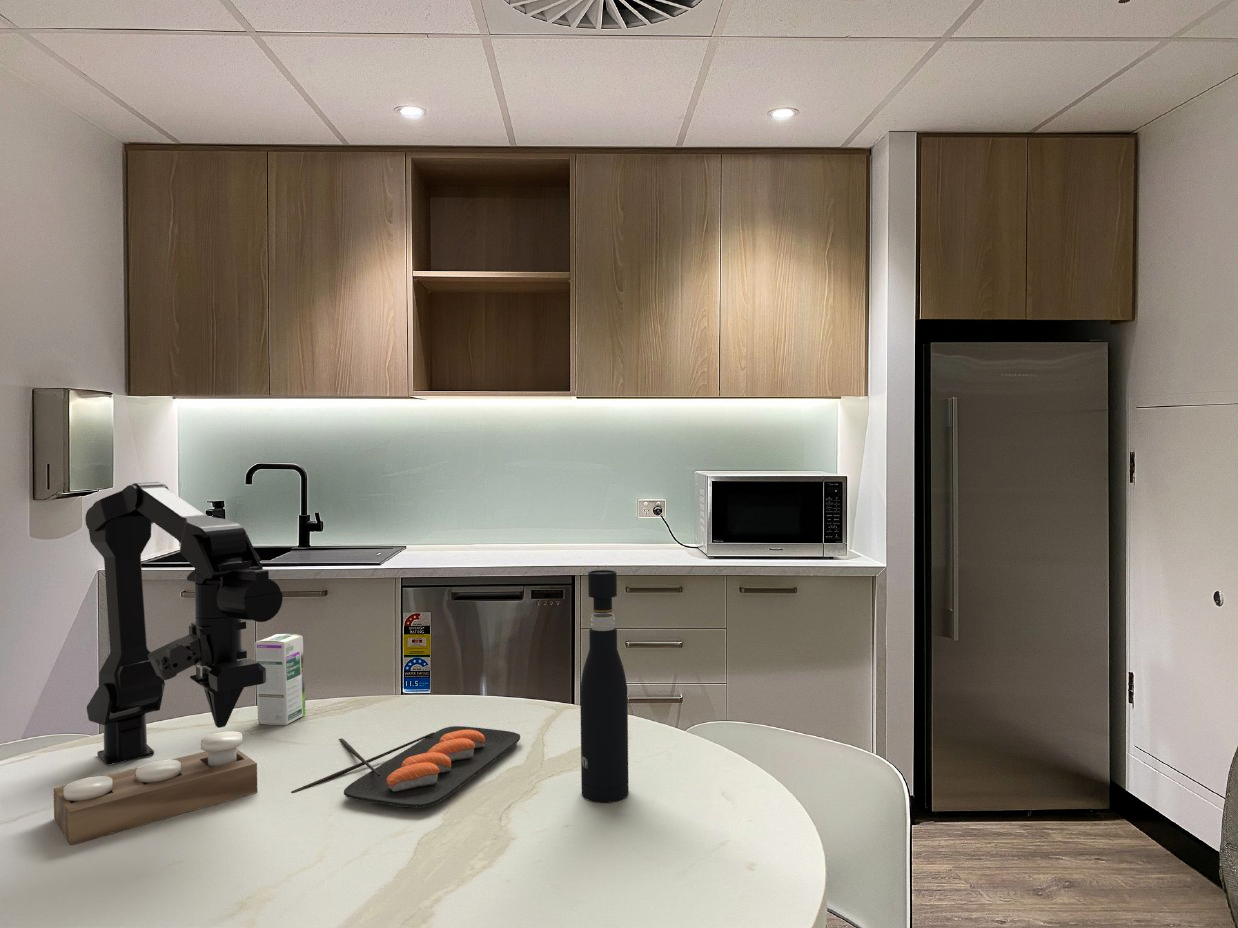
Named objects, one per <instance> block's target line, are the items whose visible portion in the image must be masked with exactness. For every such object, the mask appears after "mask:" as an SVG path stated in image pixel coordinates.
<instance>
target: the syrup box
mask: <svg viewBox="0 0 1238 928" xmlns="http://www.w3.org/2000/svg"><path fill="white" fill-rule="evenodd" d="M254 647H255V649H254V650H255V651H254V652H255V661H256V662H258V663H259V664H261V665H262V666H263V667H265V668H266V682H265V683H264V684H259V685H256V699H257V702H256V703H257V705H256V706H257V723H258V724H262V725H270V726H288V725H290V724H291V723H292V722H294V721H297V720H298V719H300V718H301V717H304V716H306V694H305V693H306V692H305V691H306V690H305V688H306V687H305V686H306V685H305V663H304V659H305V658H304V638H303V635H301V634H297V633H282V634H281V633H277V634H273V635H272V636H269V637H265V638H263V639H260V640H257V641H255V643H254Z"/></svg>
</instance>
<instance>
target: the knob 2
mask: <svg viewBox="0 0 1238 928" xmlns="http://www.w3.org/2000/svg"><path fill="white" fill-rule="evenodd" d="M242 744H243V734H242V732H239V731H221V732H215V733H212V734H209V735H205V736H204V737H203V738H201V740H200V749H201V751H202V752H205V751H208V767H209V768H213V767H217V766H221V765H225V764H229V763H232V762H236V761H237V759H236V749H237V748H238V747H239V746H241V745H242Z"/></svg>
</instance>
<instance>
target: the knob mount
mask: <svg viewBox="0 0 1238 928" xmlns="http://www.w3.org/2000/svg"><path fill="white" fill-rule="evenodd" d="M236 759H237V761H236V762H232V763H229V764H225V765H221V766H217V767H213V768H209V767H208V751H202V752H197V753H193V754H190V755H189V754H188V755H185V756H181V757H175V758H173V759H172V758H171V760H177V761H179V762H180V763H181V772H180V773H179V774H178V775H177V776H175V777H173V778H170V779H167V780H163V781H158V782H154V783H150V784H146V785H144V784H143V782H139V781H137V780H136V770H137V768H139V767H140V766H139V767H134V768H130V769H127V770H122V771H118V772H114V773H110V774H106V775H104V776H107V777H110V778H112V783H113V788H112V790H111V791H110V792H108V793H106V794H105V795H103V796H99V797H96V798H92V799H87V800H83V801H79V802H75V803H72V801H70V800H66V799H64V787H65V786H66V785H67V784H64V785H60V786H59V785H58V786H56V787H55V786H54V787H53V788H52V789H53V819H54V821H55V823H56V824H57V826H58V828H59V829H60V831H61V833H62V834H63V836H64V838H65V839H66V840H67V843H68V844H69V845H70V846H73V845H75V844H79V843H83V842H86V841H90V840H93V839H94V840H95V839H97V838H100V837H104V836H107V835H111V834H115V833H118V832H123V831H126V830H129V829H132V828H136V827H140V826H143V825H146V824H150V823H153V822H154V823H155V822H157V821H161V820H164V819H167V818H171V817H176V816H178V815H182V814H184V813H189V812H192V811H195V810H199V809H203V808H206V807H211V806H213V805H217V804H221V803H225V802H227V801H231V800H235V799H239V798H242V797H246V796H249V795H253V794H256V793H258V763H257V762H256V761H255V760H253V759H252V758H251V757H249V756H248V755H246V754H245V753H243V752H242V751H241V750H239V749H238V748H236Z"/></svg>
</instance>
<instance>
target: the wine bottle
mask: <svg viewBox="0 0 1238 928" xmlns="http://www.w3.org/2000/svg"><path fill="white" fill-rule="evenodd" d="M587 577H588V578H587V579H588V580H587V581H588V582H587V583H588V585H587V586H588V587H587V588H588V589H587V591H588V593H587V594H588V597H589V598H593V599H592V600H593V608H592V612H593V613H594V614H591V618H590V621H591V623H590V626H591V628H589V631H588V632H589V633H588V636H589V637H588V638H589V645H588V646H589V648H588V649H589V650H588V653H587V655H586V659H585V662H584V665H583V669H582V672H581V673H582V674H581V680H580V687H579V692H580V693H579V696H580V700H579V701H580V702H579V703H580V705H579V706H580V707H579V708H580V767H581V769H580V773H581V774H580V775H581V776H580V778H581V783H580V785H581V796H582V797H583V798H584V799H586V800H588V801H590V802H593V803H602V804H606V803H607V804H608V803H613V802H614V803H615V802H618V801H621V800H624V799H625V798H627V796H628V795H629V792H630V791H629V785H630V784H629V723H628V720H629V717H628V712H629V711H628V705H629V704H628V683H627V678H626V674H625V673H626V672H625V669H624V665H623V662H622V659H621V656H620V653H619V651H618V630H617V628H616V627H615V626H616V622H615V621H616V618H615V614H613V613H611V612H613V610H614V609H613V599H612V598H616V597H617V595H618V593H617V592H618V590H617V588H618V585H617V584H618V583H617V581H618V579H617V577H618V576H617V571H616V570H611V569H610V570H609V569H600V570H599V569H597V570H591V571H588V572H587Z"/></svg>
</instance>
